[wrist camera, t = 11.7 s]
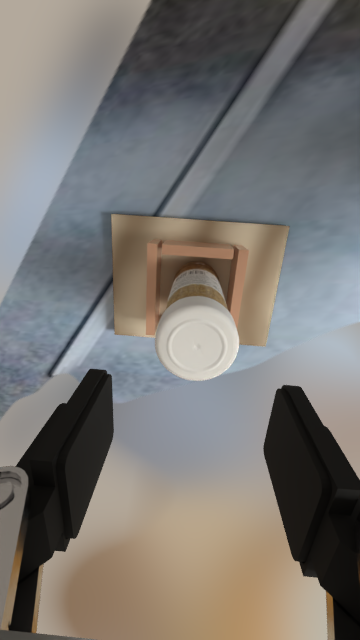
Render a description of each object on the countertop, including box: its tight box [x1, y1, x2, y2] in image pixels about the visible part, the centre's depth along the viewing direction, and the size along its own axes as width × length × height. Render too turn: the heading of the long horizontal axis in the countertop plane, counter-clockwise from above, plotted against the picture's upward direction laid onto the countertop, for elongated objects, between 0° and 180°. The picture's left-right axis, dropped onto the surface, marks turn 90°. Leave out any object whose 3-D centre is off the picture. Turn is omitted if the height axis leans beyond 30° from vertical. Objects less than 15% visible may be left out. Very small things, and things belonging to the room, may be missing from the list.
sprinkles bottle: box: [155, 262, 239, 381], centre depth 21 cm, size 5×5×13 cm
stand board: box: [111, 214, 289, 346], centre depth 28 cm, size 16×12×1 cm
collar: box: [146, 239, 249, 336], centre depth 25 cm, size 8×8×4 cm
